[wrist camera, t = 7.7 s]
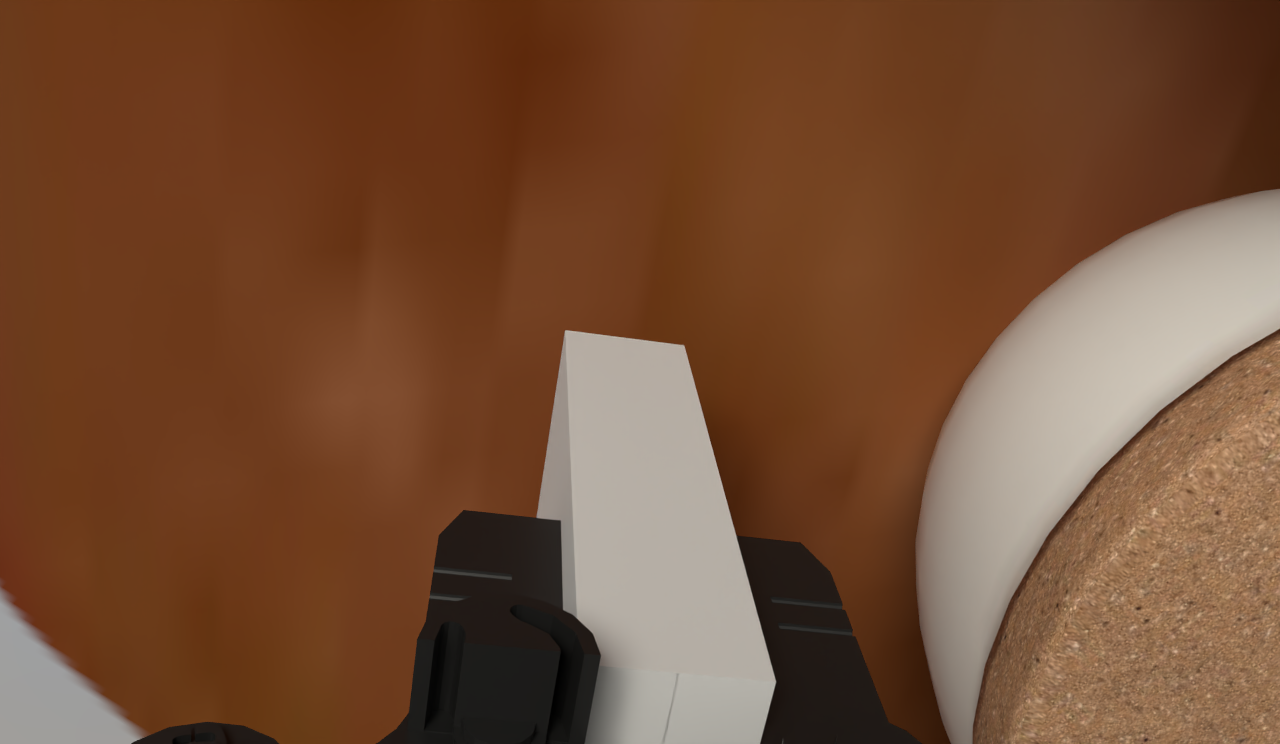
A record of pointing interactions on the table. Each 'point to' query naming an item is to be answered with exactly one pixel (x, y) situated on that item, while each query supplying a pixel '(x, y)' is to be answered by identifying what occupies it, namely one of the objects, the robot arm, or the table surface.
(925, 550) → the lidded jar
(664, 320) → the table surface
